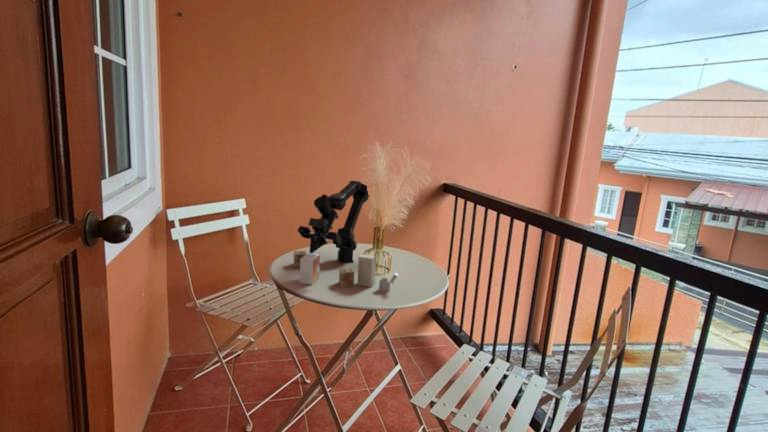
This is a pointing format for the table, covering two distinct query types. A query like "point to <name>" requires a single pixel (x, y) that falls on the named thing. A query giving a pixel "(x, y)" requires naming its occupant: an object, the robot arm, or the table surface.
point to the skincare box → (366, 270)
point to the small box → (309, 268)
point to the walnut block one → (346, 277)
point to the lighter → (386, 283)
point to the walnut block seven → (298, 258)
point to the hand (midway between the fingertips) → (310, 252)
